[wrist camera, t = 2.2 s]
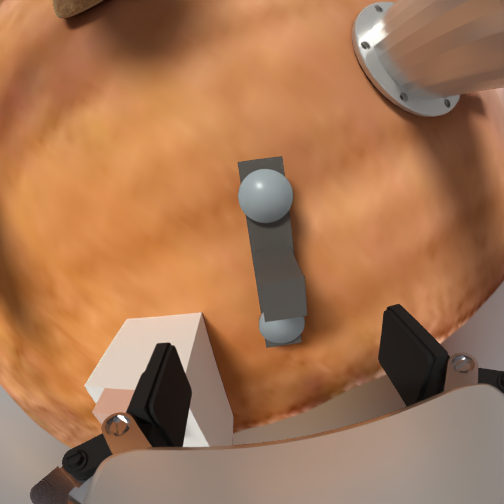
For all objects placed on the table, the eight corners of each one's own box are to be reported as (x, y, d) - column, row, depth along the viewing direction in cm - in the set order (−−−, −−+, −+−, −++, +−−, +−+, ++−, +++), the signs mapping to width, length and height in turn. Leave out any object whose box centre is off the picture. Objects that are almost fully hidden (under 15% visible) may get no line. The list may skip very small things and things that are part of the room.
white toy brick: (201, 312, 25) (174, 420, 13) (233, 416, 30) (230, 501, 18) (126, 318, 25) (71, 408, 13) (174, 417, 30) (156, 496, 18)
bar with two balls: (280, 156, 20) (303, 152, 12) (298, 321, 25) (318, 387, 17) (235, 163, 21) (227, 162, 12) (261, 327, 25) (267, 396, 17)
